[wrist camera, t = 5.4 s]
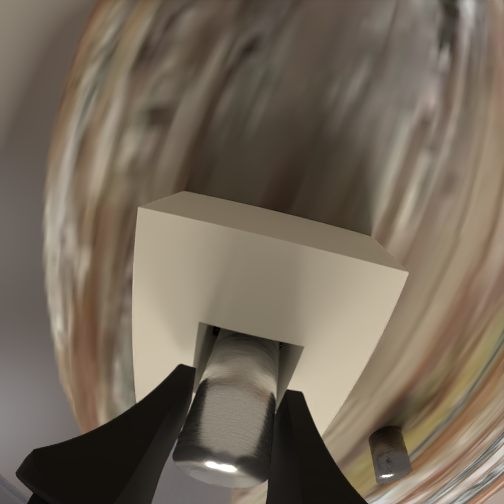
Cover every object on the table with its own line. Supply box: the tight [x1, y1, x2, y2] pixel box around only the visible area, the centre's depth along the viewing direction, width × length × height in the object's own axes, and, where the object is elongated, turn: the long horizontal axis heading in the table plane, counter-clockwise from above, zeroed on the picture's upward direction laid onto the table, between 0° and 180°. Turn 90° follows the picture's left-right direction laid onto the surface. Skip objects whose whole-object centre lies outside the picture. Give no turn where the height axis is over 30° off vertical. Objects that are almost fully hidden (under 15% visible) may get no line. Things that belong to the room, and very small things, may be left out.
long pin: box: [172, 328, 280, 488], centre depth 10 cm, size 3×3×8 cm
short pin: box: [369, 426, 412, 484], centre depth 17 cm, size 3×3×4 cm
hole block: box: [132, 191, 409, 436], centre depth 14 cm, size 12×10×5 cm
